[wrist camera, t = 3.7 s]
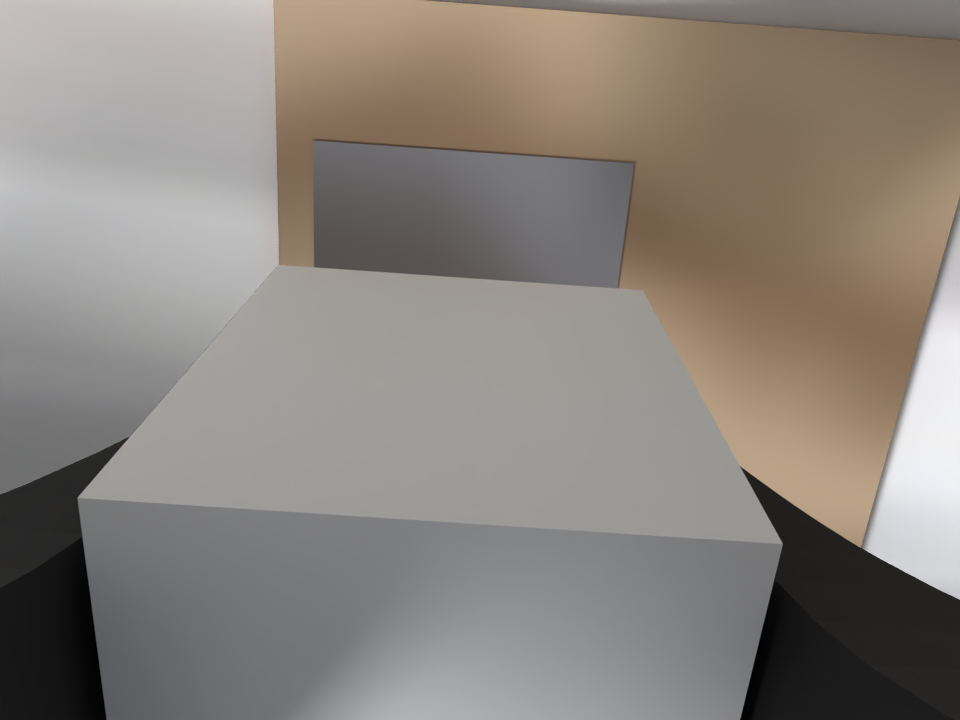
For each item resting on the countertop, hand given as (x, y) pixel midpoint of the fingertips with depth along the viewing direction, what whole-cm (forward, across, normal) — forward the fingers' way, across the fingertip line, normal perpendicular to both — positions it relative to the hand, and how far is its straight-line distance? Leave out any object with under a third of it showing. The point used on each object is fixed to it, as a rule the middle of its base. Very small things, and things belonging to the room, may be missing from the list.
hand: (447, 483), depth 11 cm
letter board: (+8, -3, +6) cm, 10 cm away
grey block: (+1, 0, 0) cm, 1 cm away
